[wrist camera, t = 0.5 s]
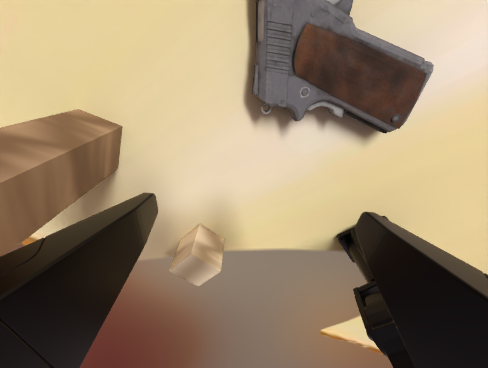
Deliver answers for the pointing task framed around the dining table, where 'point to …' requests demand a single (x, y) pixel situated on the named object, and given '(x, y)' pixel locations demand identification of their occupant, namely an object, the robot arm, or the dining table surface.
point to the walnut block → (51, 168)
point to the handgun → (332, 65)
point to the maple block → (198, 256)
